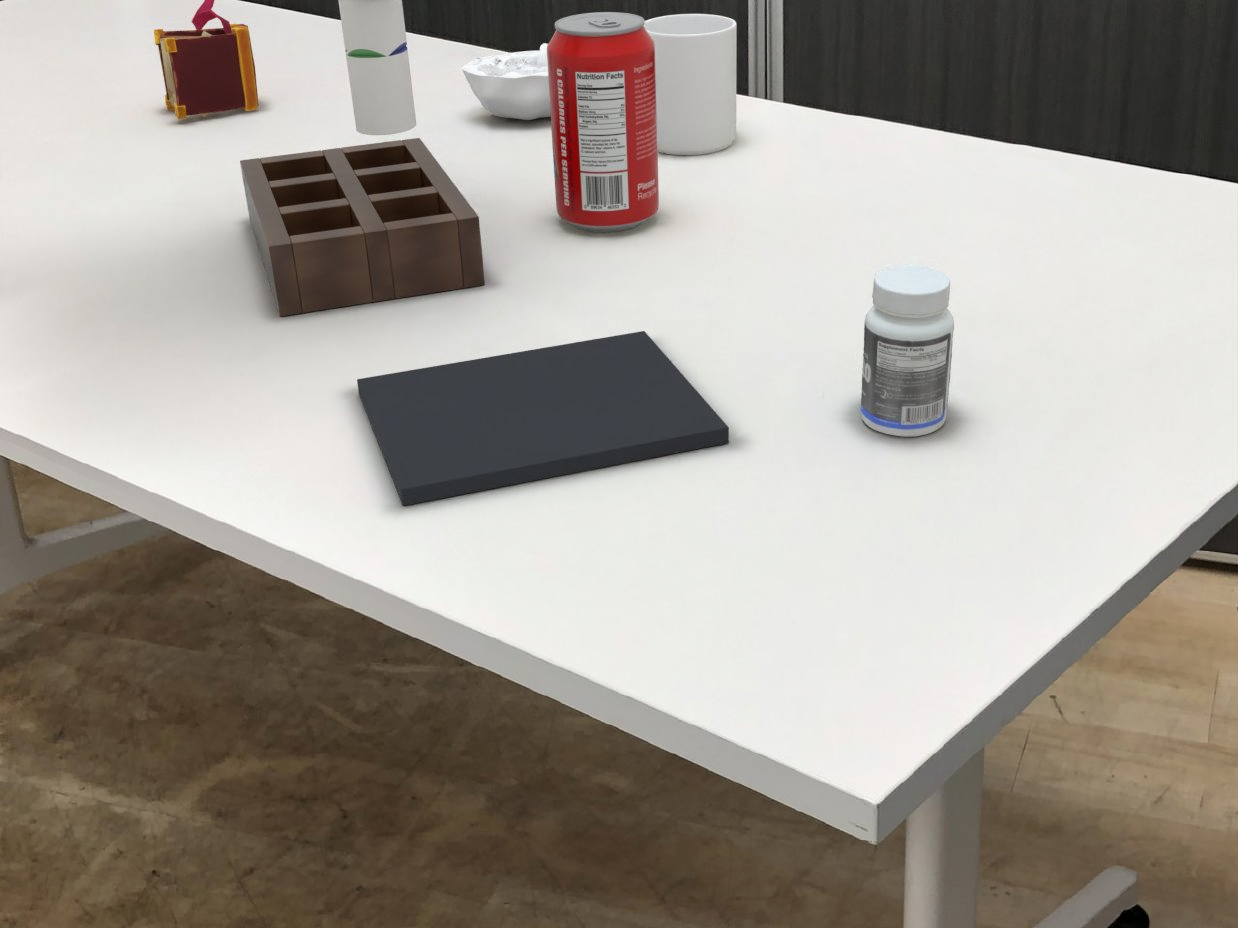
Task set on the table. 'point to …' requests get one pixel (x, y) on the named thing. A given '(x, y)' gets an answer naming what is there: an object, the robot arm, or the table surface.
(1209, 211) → the table surface
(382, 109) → the tube
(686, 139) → the mug
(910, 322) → the pill bottle
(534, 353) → the mat
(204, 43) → the book monster
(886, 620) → the table surface
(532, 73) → the cell model
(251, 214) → the box
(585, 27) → the soda can
